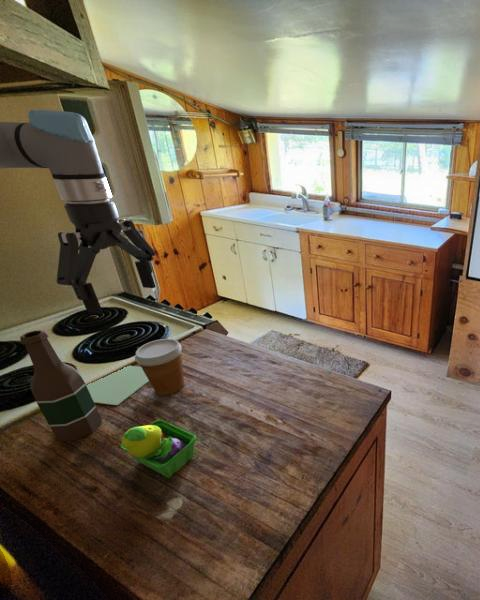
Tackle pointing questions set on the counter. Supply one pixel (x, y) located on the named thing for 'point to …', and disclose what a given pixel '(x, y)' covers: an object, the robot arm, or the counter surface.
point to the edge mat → (117, 385)
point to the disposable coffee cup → (162, 365)
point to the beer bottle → (60, 391)
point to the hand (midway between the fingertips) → (124, 298)
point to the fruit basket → (160, 446)
